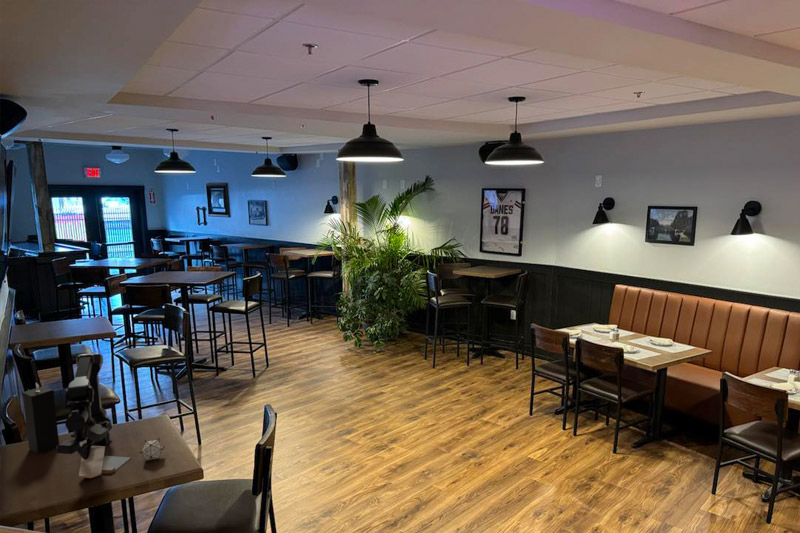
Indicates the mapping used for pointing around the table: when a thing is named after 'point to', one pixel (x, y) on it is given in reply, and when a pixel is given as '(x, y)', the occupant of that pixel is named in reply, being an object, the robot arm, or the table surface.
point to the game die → (152, 449)
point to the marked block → (92, 463)
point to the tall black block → (41, 419)
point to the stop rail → (108, 470)
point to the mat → (114, 461)
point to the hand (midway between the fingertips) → (85, 459)
